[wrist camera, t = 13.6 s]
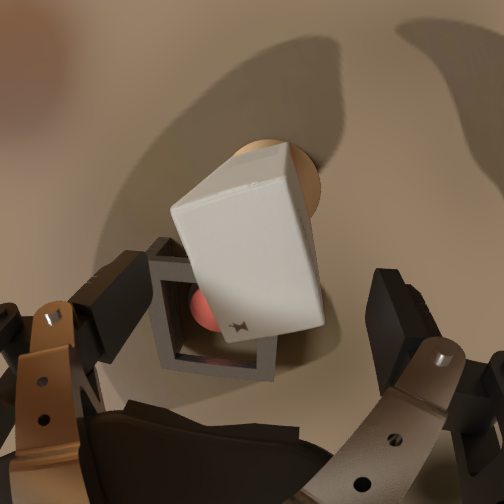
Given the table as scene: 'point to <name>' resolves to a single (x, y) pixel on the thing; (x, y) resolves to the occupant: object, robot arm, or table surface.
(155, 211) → the table surface
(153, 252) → the grey square frame
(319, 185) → the coaster
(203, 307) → the button
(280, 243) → the skincare box
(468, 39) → the table surface
